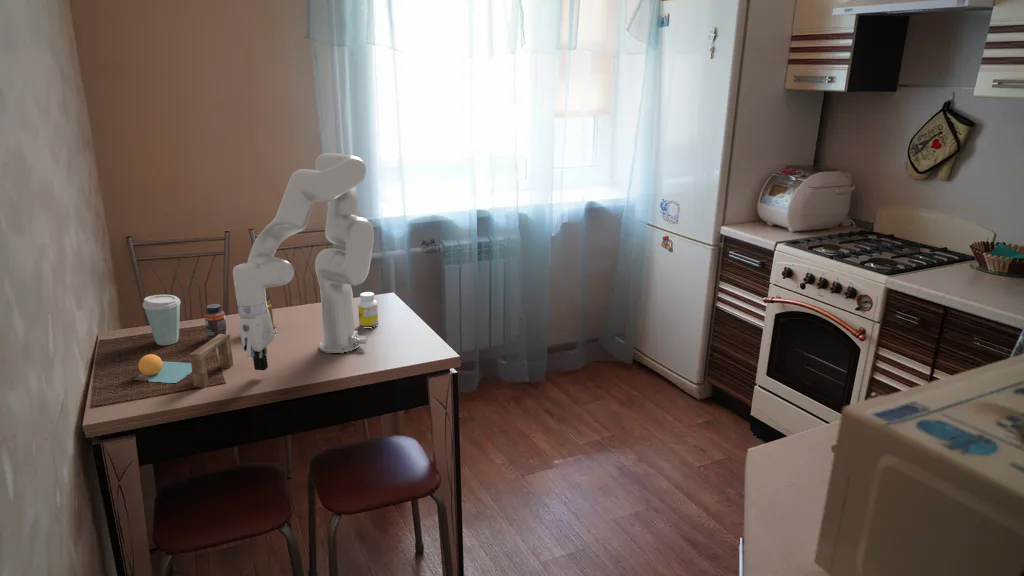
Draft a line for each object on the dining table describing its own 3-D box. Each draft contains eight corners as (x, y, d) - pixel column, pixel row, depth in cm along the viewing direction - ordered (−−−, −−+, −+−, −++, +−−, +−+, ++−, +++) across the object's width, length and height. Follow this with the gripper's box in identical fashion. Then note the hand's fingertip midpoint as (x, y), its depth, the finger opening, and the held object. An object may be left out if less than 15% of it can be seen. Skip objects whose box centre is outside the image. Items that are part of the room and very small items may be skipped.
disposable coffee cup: (176, 333, 218) (170, 289, 213) (192, 341, 211) (186, 296, 206) (143, 342, 210) (135, 297, 205) (158, 351, 203) (150, 305, 199)
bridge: (233, 365, 194) (229, 334, 191) (204, 387, 180) (200, 354, 177) (223, 364, 195) (219, 333, 192) (194, 386, 180) (189, 354, 177)
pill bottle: (363, 322, 230) (361, 290, 227) (381, 323, 229) (379, 291, 226) (356, 328, 224) (354, 296, 221) (374, 330, 223) (373, 297, 220)
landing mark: (202, 364, 194) (202, 364, 194) (176, 383, 182) (175, 383, 182) (161, 361, 196) (161, 361, 196) (132, 380, 183) (132, 380, 183)
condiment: (254, 335, 217) (250, 301, 213) (252, 327, 224) (248, 293, 220) (277, 332, 220) (274, 298, 216) (274, 324, 227) (271, 291, 223)
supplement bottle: (231, 336, 216) (227, 303, 213) (221, 342, 210) (217, 309, 207) (213, 335, 217) (209, 302, 213) (204, 341, 211) (199, 308, 208)
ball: (147, 370, 190) (167, 372, 190) (134, 377, 184) (155, 379, 184) (146, 350, 189) (166, 352, 188) (132, 357, 183) (154, 359, 183)
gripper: (252, 318, 173) (261, 381, 179) (278, 299, 187) (285, 358, 193) (225, 317, 174) (235, 380, 180) (253, 298, 188) (261, 357, 194)
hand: (261, 368), depth 187 cm, fingers closed
